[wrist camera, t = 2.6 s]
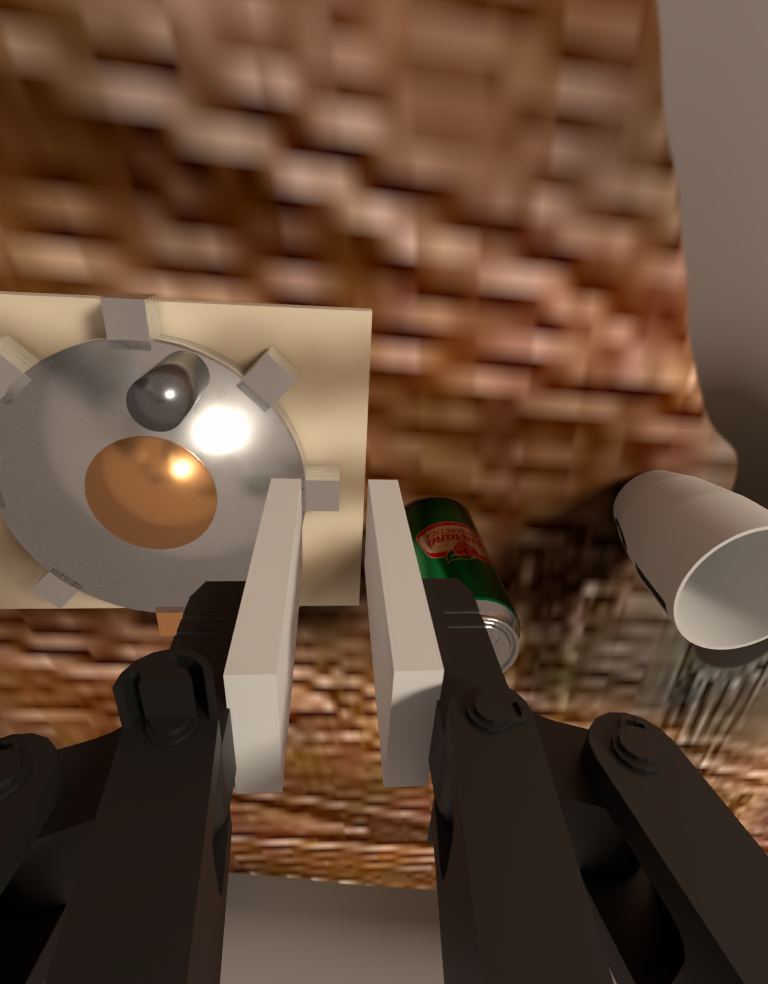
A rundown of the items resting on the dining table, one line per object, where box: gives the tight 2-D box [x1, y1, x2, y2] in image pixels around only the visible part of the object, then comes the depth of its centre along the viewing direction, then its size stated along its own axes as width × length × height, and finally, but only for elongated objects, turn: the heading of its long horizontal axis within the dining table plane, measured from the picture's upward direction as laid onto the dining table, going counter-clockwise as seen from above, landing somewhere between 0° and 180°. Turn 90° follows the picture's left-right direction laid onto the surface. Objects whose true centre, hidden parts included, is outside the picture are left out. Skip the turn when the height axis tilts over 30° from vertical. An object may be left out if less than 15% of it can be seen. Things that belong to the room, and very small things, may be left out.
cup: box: [613, 470, 768, 649], centre depth 32 cm, size 8×8×10 cm
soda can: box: [406, 497, 521, 673], centre depth 31 cm, size 5×5×12 cm
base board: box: [0, 291, 372, 609], centre depth 32 cm, size 20×24×1 cm
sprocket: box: [0, 292, 340, 636], centre depth 28 cm, size 21×21×7 cm
